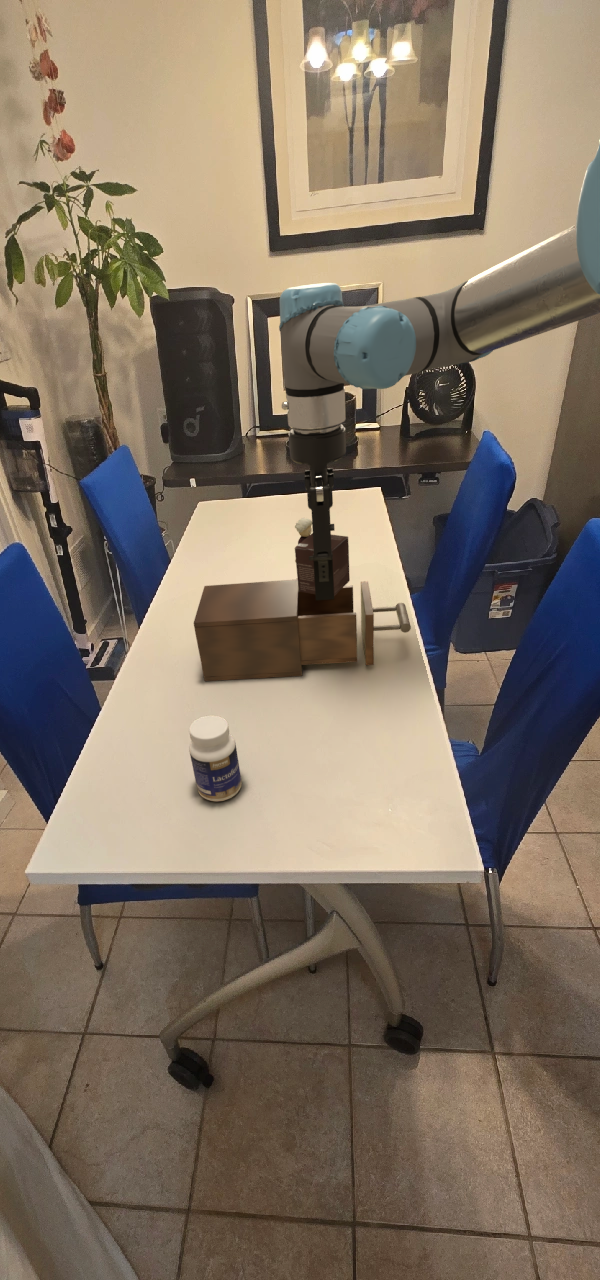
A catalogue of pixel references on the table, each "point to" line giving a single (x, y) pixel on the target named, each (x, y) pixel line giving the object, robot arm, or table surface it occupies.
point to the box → (307, 567)
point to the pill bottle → (214, 758)
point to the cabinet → (249, 630)
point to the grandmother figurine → (303, 528)
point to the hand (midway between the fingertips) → (324, 585)
